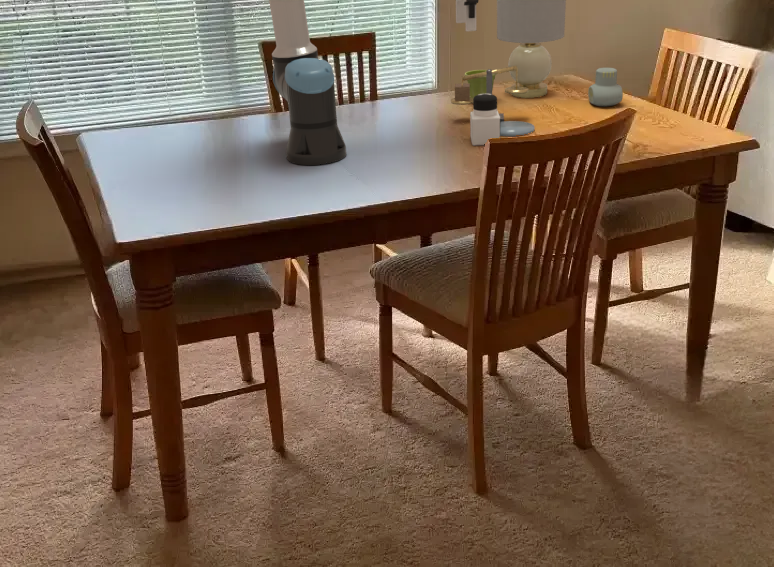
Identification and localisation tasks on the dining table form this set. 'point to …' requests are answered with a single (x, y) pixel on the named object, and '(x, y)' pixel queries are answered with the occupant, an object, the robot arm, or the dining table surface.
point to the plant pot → (478, 83)
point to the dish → (515, 128)
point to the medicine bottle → (484, 119)
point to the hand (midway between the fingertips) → (465, 26)
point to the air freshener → (605, 88)
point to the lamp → (530, 39)
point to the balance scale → (464, 89)
